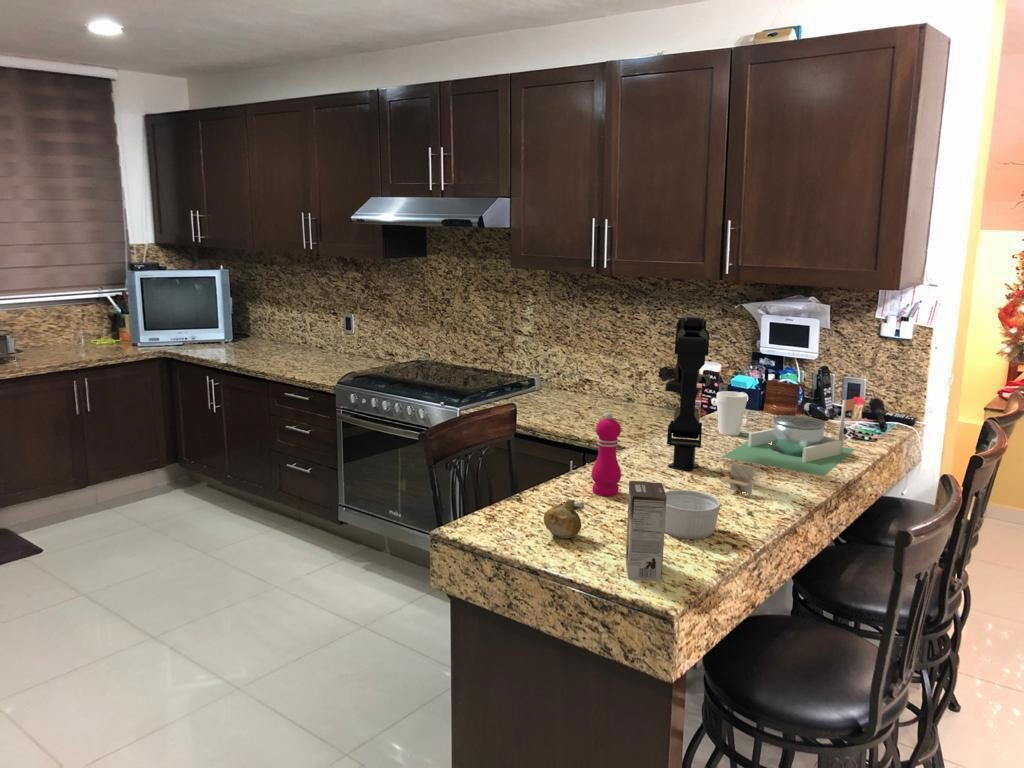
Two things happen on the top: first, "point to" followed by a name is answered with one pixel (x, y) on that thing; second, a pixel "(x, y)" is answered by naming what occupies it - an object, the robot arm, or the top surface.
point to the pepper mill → (606, 458)
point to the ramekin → (690, 514)
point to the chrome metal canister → (796, 434)
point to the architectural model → (740, 478)
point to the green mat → (786, 459)
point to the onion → (563, 519)
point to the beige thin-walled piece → (815, 451)
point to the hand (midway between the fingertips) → (686, 412)
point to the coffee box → (645, 530)
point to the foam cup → (730, 411)
